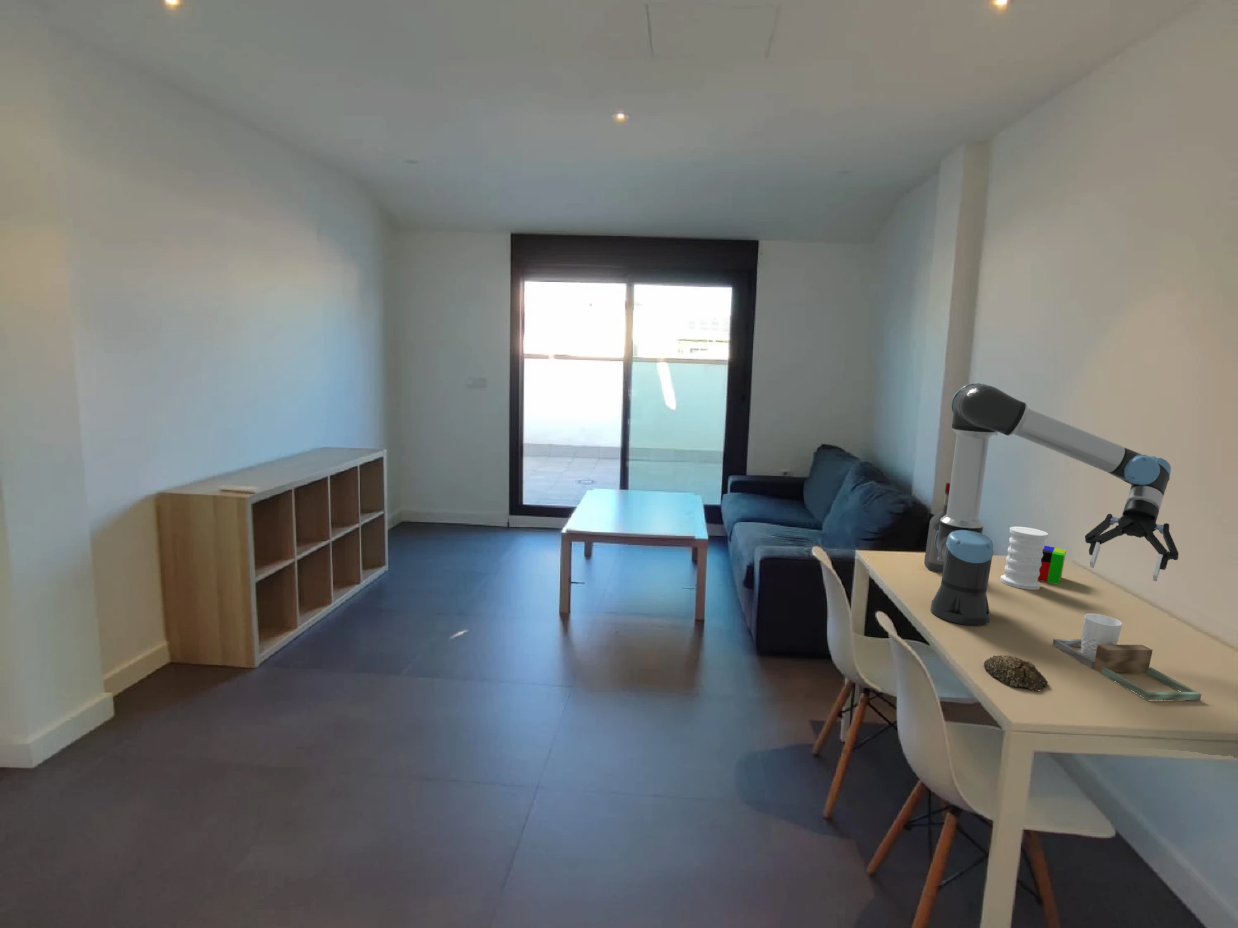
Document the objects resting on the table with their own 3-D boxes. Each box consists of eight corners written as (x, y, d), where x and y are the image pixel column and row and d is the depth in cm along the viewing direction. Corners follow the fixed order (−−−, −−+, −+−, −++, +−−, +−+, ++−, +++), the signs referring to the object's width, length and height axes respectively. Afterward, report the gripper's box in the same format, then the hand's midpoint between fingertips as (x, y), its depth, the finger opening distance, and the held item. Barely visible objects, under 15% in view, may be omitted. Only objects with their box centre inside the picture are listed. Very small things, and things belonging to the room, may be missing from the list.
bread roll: (977, 663, 171) (980, 644, 170) (1031, 669, 170) (1034, 649, 169) (999, 688, 159) (1003, 668, 158) (1058, 695, 158) (1062, 674, 157)
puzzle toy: (1028, 570, 251) (1032, 543, 249) (1061, 577, 245) (1066, 549, 243) (1024, 577, 243) (1029, 549, 241) (1058, 584, 237) (1063, 555, 235)
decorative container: (1048, 589, 231) (1058, 535, 228) (1020, 590, 228) (1029, 536, 225) (1019, 577, 242) (1028, 525, 239) (992, 578, 239) (1000, 526, 236)
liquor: (957, 574, 240) (970, 487, 235) (928, 571, 242) (941, 484, 237) (949, 566, 249) (962, 482, 244) (922, 563, 251) (934, 480, 246)
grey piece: (1148, 701, 157) (1153, 675, 156) (1052, 644, 185) (1056, 623, 184) (1200, 700, 158) (1205, 675, 157) (1097, 644, 187) (1101, 623, 186)
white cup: (1113, 667, 174) (1121, 628, 172) (1075, 656, 178) (1082, 619, 176) (1115, 656, 180) (1123, 619, 178) (1079, 647, 184) (1085, 610, 183)
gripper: (1200, 524, 186) (1182, 591, 178) (1089, 506, 203) (1068, 567, 195) (1201, 507, 181) (1183, 575, 173) (1087, 490, 199) (1066, 552, 190)
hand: (1122, 571), depth 184 cm, fingers open, 13 cm apart
